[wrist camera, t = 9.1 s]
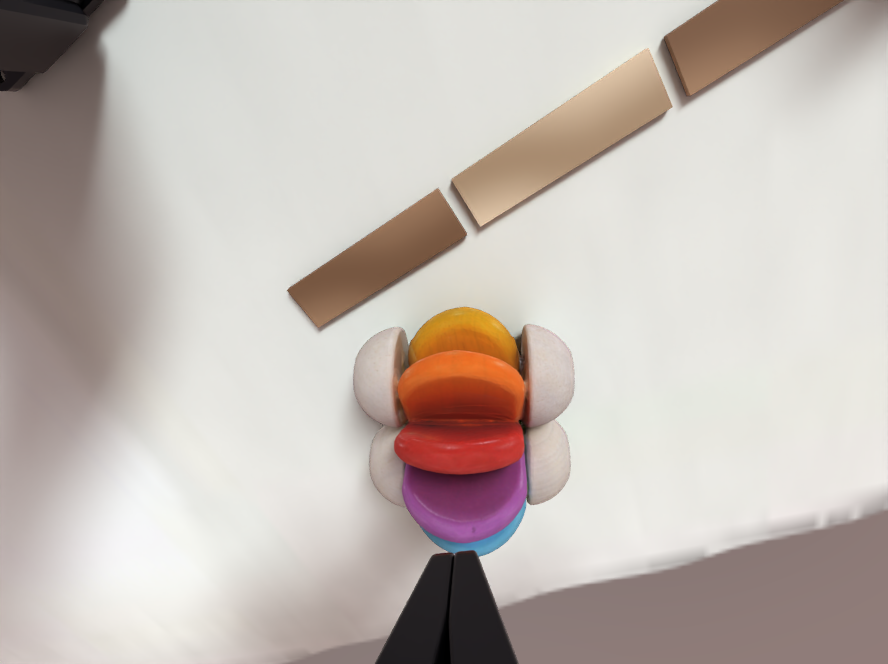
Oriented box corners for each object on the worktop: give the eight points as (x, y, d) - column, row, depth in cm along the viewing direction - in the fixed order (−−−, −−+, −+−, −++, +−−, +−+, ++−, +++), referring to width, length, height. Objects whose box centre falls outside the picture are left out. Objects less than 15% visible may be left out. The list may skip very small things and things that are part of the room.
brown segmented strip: (289, 287, 20) (286, 290, 19) (926, -140, 13) (935, -145, 13) (320, 324, 20) (318, 327, 20) (939, -62, 14) (949, -66, 13)
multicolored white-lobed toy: (565, 287, 19) (613, 385, 13) (557, 471, 23) (590, 616, 17) (359, 297, 20) (303, 395, 13) (388, 474, 24) (356, 614, 17)
